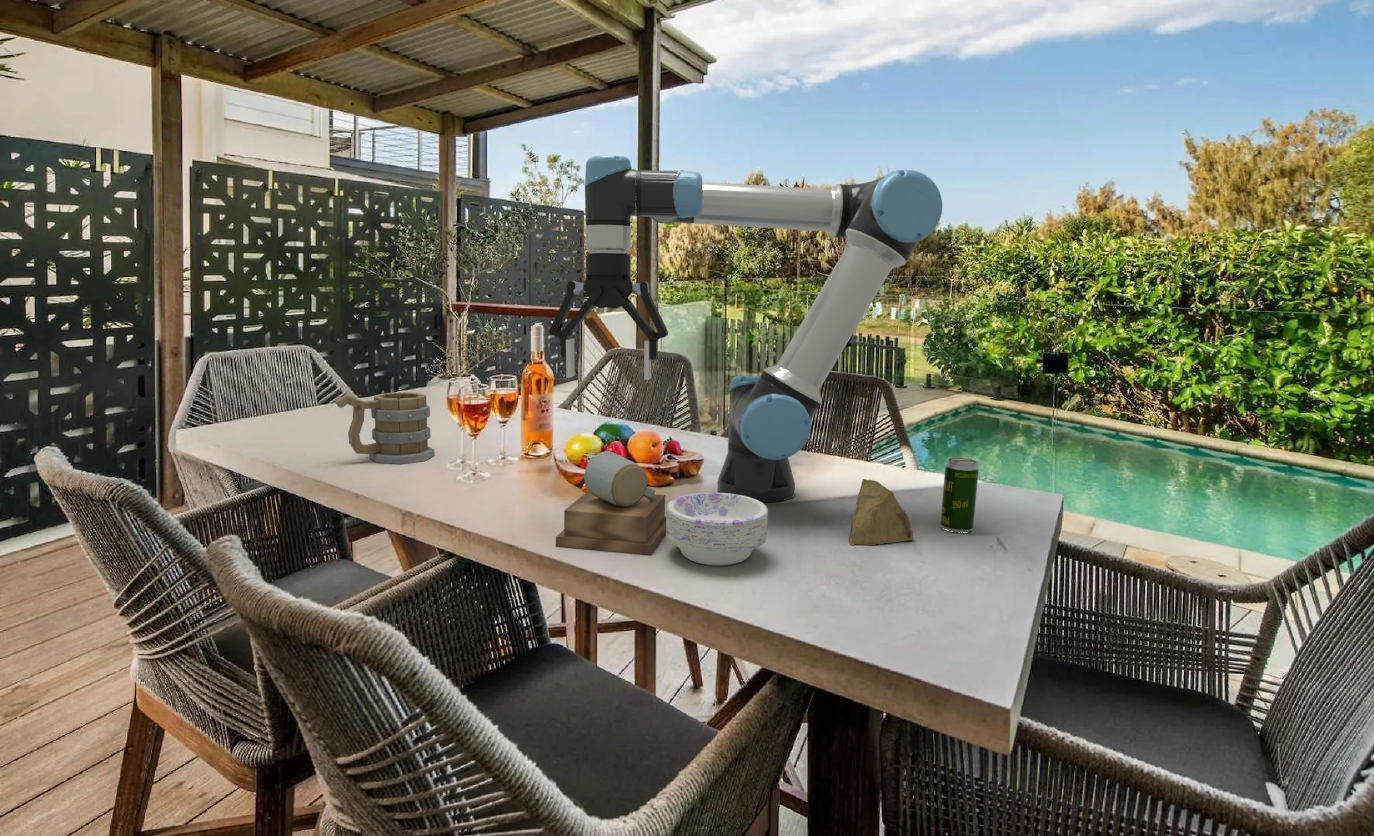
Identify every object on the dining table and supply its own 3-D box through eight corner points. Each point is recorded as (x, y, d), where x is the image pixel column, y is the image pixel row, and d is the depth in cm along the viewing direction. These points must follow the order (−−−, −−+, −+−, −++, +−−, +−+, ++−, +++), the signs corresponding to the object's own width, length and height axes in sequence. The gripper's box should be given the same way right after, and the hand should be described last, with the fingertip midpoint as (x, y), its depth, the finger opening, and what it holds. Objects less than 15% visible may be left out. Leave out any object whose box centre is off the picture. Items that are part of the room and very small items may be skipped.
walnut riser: (671, 525, 136) (672, 493, 135) (650, 554, 121) (651, 519, 120) (586, 518, 138) (586, 487, 138) (555, 545, 124) (555, 511, 123)
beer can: (964, 524, 141) (970, 457, 139) (978, 534, 136) (985, 464, 134) (935, 524, 141) (940, 457, 138) (947, 534, 135) (953, 464, 133)
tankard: (420, 449, 188) (418, 385, 186) (440, 459, 178) (439, 392, 176) (329, 459, 176) (326, 391, 173) (346, 471, 166) (343, 399, 164)
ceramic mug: (612, 512, 123) (614, 463, 122) (582, 500, 129) (583, 453, 128) (666, 502, 130) (667, 455, 129) (635, 491, 136) (636, 446, 135)
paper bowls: (706, 581, 111) (708, 526, 110) (646, 549, 124) (647, 499, 122) (787, 561, 120) (789, 509, 119) (723, 533, 132) (725, 486, 131)
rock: (918, 520, 135) (859, 505, 138) (925, 489, 129) (863, 473, 132) (905, 573, 128) (843, 556, 131) (912, 543, 122) (846, 526, 125)
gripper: (684, 253, 138) (683, 377, 141) (543, 252, 141) (545, 373, 145) (678, 252, 130) (677, 382, 134) (529, 251, 133) (532, 378, 137)
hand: (608, 378), depth 139 cm, fingers open, 13 cm apart
